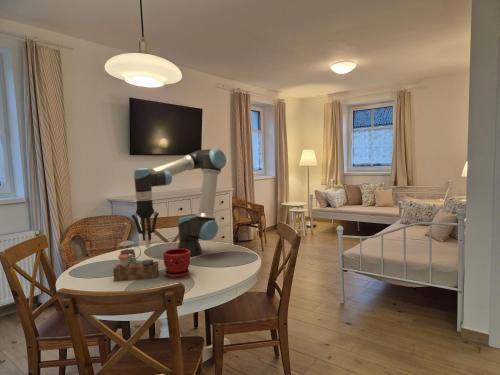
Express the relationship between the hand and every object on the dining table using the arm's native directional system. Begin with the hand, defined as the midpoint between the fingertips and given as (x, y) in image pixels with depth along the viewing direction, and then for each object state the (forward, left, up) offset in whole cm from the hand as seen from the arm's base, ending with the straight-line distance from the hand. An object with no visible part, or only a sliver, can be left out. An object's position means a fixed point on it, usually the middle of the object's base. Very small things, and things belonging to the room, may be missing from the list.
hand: (147, 246), depth 158 cm
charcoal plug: (0, 0, -14) cm, 14 cm away
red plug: (+11, 0, -11) cm, 16 cm away
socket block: (+6, 0, -15) cm, 16 cm away
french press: (+12, -14, -15) cm, 24 cm away
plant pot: (-14, +2, -15) cm, 21 cm away
